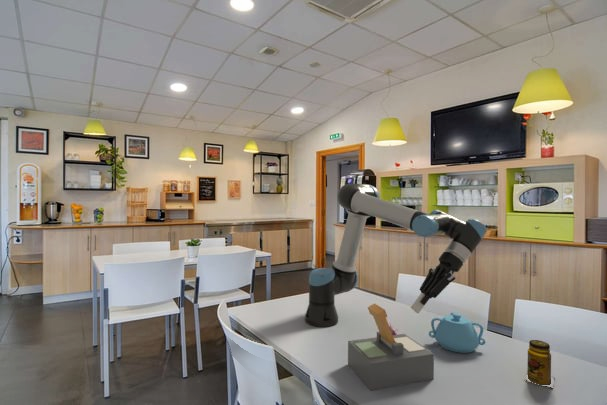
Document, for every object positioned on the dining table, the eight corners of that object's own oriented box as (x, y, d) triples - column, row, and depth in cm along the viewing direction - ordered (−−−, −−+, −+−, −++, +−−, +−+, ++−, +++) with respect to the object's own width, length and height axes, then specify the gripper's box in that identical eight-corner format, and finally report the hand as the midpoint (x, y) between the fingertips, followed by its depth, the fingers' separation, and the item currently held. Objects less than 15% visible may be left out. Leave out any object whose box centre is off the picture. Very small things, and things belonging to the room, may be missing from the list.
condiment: (524, 381, 105) (524, 343, 105) (527, 370, 111) (528, 334, 111) (553, 390, 100) (553, 350, 100) (555, 378, 106) (555, 340, 106)
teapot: (428, 351, 124) (429, 317, 124) (428, 331, 143) (428, 301, 143) (488, 360, 118) (489, 325, 117) (480, 338, 136) (480, 307, 136)
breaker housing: (403, 355, 121) (404, 325, 120) (433, 379, 105) (434, 344, 105) (347, 364, 114) (348, 332, 114) (370, 390, 99) (371, 353, 99)
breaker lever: (388, 339, 113) (374, 303, 111) (400, 348, 107) (385, 310, 105) (381, 343, 113) (367, 307, 111) (393, 352, 106) (377, 314, 104)
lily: (394, 355, 123) (407, 332, 123) (368, 335, 130) (380, 313, 130) (402, 353, 133) (414, 332, 133) (377, 334, 140) (389, 314, 140)
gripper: (473, 266, 112) (432, 323, 109) (450, 262, 125) (413, 312, 122) (457, 252, 112) (415, 308, 108) (436, 249, 125) (398, 299, 121)
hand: (414, 310), depth 115 cm, fingers closed
